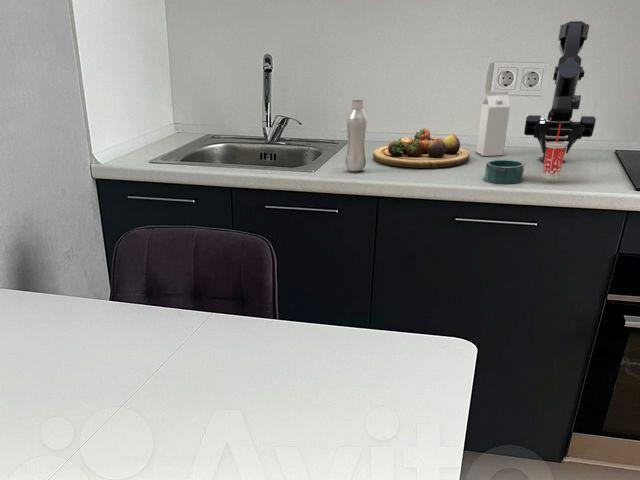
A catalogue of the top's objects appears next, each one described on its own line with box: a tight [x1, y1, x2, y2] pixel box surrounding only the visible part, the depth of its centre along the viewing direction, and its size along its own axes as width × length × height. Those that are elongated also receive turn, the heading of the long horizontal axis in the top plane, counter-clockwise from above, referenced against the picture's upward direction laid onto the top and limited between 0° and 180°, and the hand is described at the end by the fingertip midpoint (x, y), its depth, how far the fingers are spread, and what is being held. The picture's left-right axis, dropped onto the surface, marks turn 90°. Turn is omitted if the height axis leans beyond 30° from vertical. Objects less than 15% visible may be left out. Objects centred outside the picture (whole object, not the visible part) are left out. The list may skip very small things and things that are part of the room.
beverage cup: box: [542, 124, 568, 179], centre depth 208 cm, size 6×6×14 cm
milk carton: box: [476, 90, 511, 157], centre depth 244 cm, size 7×7×19 cm
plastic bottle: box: [345, 99, 368, 173], centre depth 226 cm, size 6×7×20 cm
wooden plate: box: [372, 128, 471, 169], centre depth 242 cm, size 32×32×8 cm
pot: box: [484, 159, 526, 185], centre depth 216 cm, size 11×14×4 cm
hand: (554, 152), depth 207 cm, fingers closed on beverage cup, 6 cm apart
